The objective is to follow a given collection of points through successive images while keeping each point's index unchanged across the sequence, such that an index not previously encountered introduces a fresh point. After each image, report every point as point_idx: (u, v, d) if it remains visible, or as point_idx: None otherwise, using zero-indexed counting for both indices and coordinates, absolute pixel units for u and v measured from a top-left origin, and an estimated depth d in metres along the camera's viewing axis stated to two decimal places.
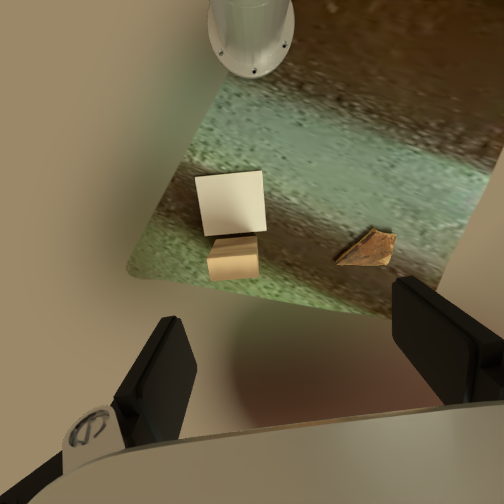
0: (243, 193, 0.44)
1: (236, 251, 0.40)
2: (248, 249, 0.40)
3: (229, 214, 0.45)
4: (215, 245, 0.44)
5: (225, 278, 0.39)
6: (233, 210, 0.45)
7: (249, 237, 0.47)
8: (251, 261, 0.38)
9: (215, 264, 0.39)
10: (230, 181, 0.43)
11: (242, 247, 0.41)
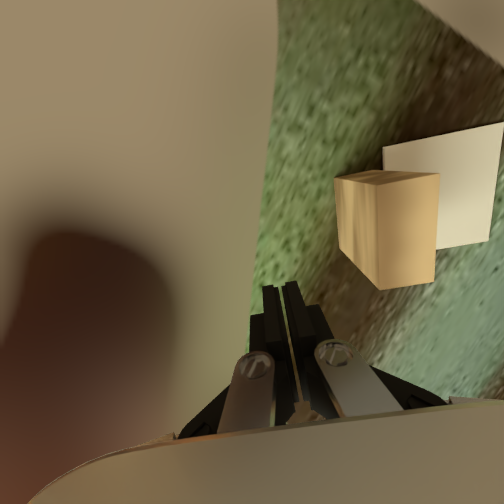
0: (456, 215, 0.26)
1: None
2: None
3: None
4: None
5: (382, 221, 0.17)
6: None
7: None
8: (419, 273, 0.18)
9: (421, 194, 0.16)
10: (481, 191, 0.25)
11: None
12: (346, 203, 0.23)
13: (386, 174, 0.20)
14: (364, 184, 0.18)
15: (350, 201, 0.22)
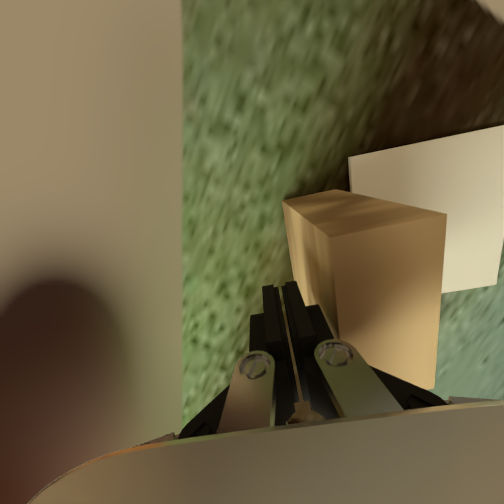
0: (452, 251, 0.19)
1: None
2: None
3: None
4: None
5: (343, 300, 0.09)
6: None
7: None
8: (410, 377, 0.11)
9: (413, 252, 0.09)
10: (488, 219, 0.18)
11: None
12: (296, 242, 0.15)
13: (352, 203, 0.12)
14: (313, 227, 0.10)
15: (300, 243, 0.14)
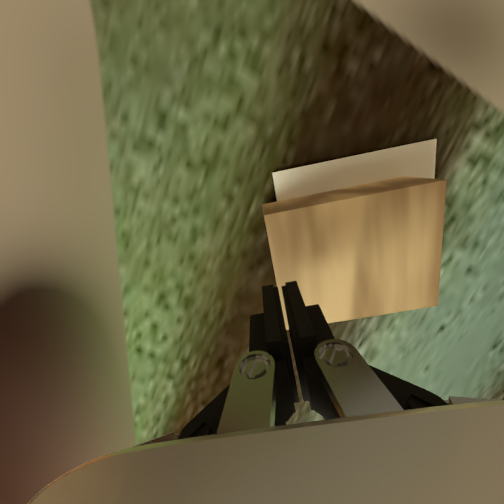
0: None
1: None
2: None
3: None
4: None
5: (440, 223, 0.14)
6: None
7: None
8: None
9: None
10: None
11: None
12: (331, 239, 0.14)
13: (345, 190, 0.16)
14: (408, 189, 0.13)
15: (349, 231, 0.14)
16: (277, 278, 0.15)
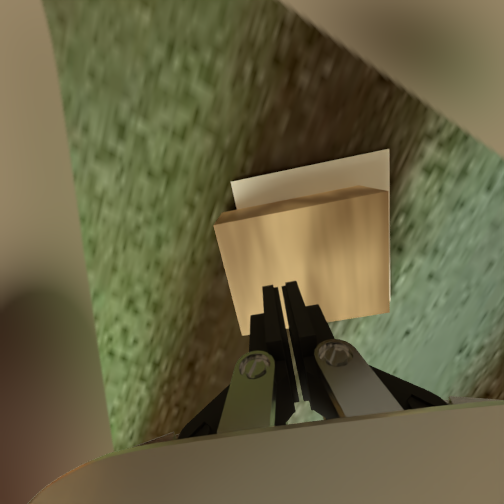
0: None
1: None
2: None
3: None
4: None
5: (386, 233, 0.14)
6: None
7: None
8: None
9: None
10: None
11: None
12: (280, 248, 0.15)
13: (299, 200, 0.16)
14: (351, 200, 0.14)
15: (297, 240, 0.14)
16: (230, 285, 0.15)
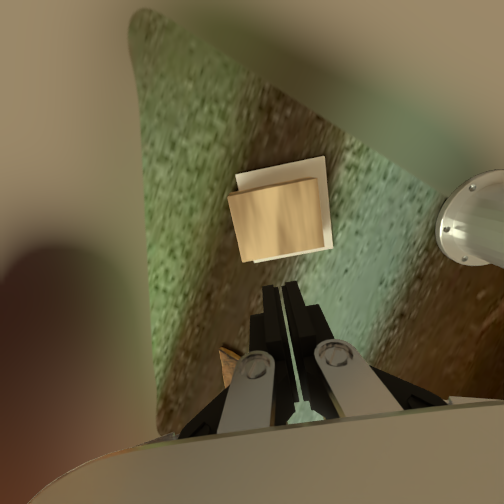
0: None
1: None
2: None
3: None
4: None
5: (319, 201, 0.27)
6: None
7: None
8: None
9: None
10: None
11: None
12: (262, 209, 0.27)
13: (274, 184, 0.29)
14: (298, 183, 0.26)
15: (271, 205, 0.27)
16: (236, 231, 0.28)
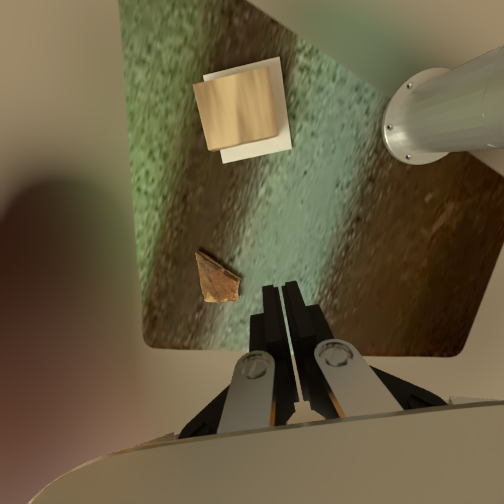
0: None
1: None
2: None
3: None
4: None
5: (271, 89, 0.32)
6: None
7: None
8: None
9: None
10: (277, 109, 0.36)
11: None
12: (223, 97, 0.32)
13: None
14: (253, 71, 0.31)
15: (231, 92, 0.32)
16: (201, 119, 0.33)
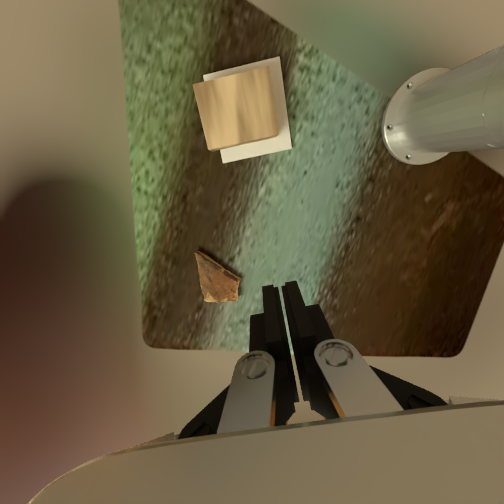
0: None
1: None
2: None
3: None
4: None
5: (271, 89, 0.32)
6: None
7: None
8: None
9: None
10: (277, 109, 0.36)
11: None
12: (223, 97, 0.32)
13: None
14: (253, 70, 0.31)
15: (231, 92, 0.32)
16: (201, 119, 0.33)
